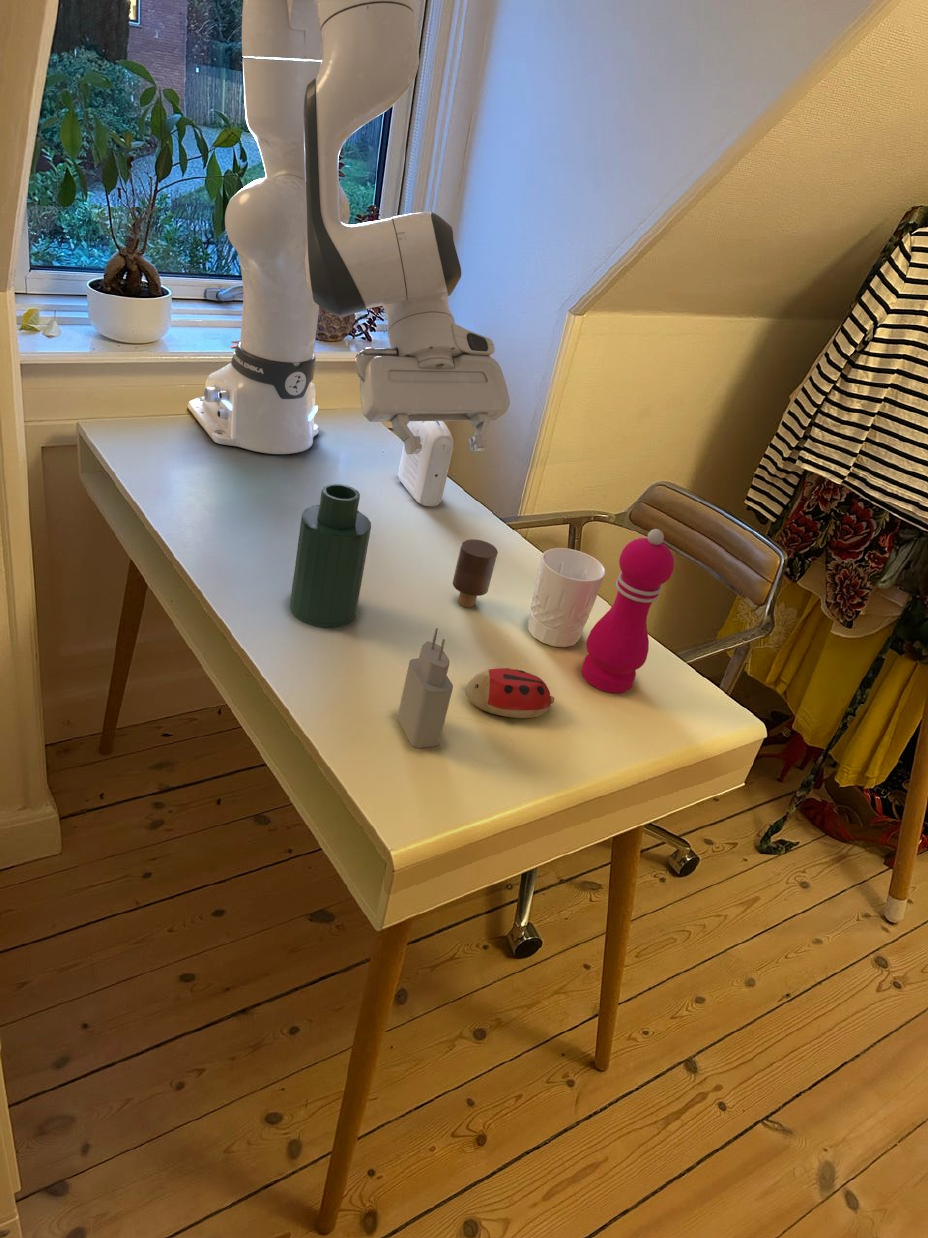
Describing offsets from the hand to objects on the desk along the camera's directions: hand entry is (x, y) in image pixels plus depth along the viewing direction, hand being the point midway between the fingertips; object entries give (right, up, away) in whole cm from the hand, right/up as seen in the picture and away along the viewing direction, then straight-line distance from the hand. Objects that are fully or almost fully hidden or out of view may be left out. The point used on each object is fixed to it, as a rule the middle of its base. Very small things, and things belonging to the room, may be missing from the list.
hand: (447, 451), depth 123 cm
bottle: (-15, -20, -8) cm, 26 cm away
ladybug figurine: (+7, -31, -16) cm, 35 cm away
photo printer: (-5, -2, +26) cm, 26 cm away
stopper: (+2, -19, 0) cm, 19 cm away
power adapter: (-3, -33, -23) cm, 40 cm away
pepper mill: (+19, -28, -8) cm, 35 cm away
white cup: (+13, -23, -1) cm, 27 cm away
